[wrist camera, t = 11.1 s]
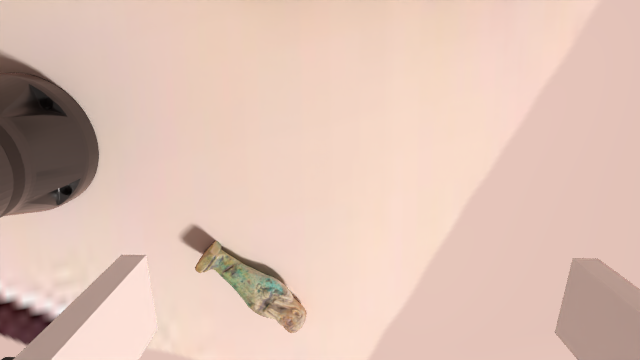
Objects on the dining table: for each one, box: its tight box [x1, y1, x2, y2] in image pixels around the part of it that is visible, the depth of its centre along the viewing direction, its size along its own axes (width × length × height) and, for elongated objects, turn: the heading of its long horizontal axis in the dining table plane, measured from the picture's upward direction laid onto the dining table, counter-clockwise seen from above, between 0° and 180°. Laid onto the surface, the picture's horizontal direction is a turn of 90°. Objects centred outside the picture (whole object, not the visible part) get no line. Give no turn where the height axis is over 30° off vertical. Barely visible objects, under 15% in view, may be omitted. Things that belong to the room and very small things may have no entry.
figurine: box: [195, 241, 306, 333], centre depth 46 cm, size 6×15×4 cm, turn 41°
